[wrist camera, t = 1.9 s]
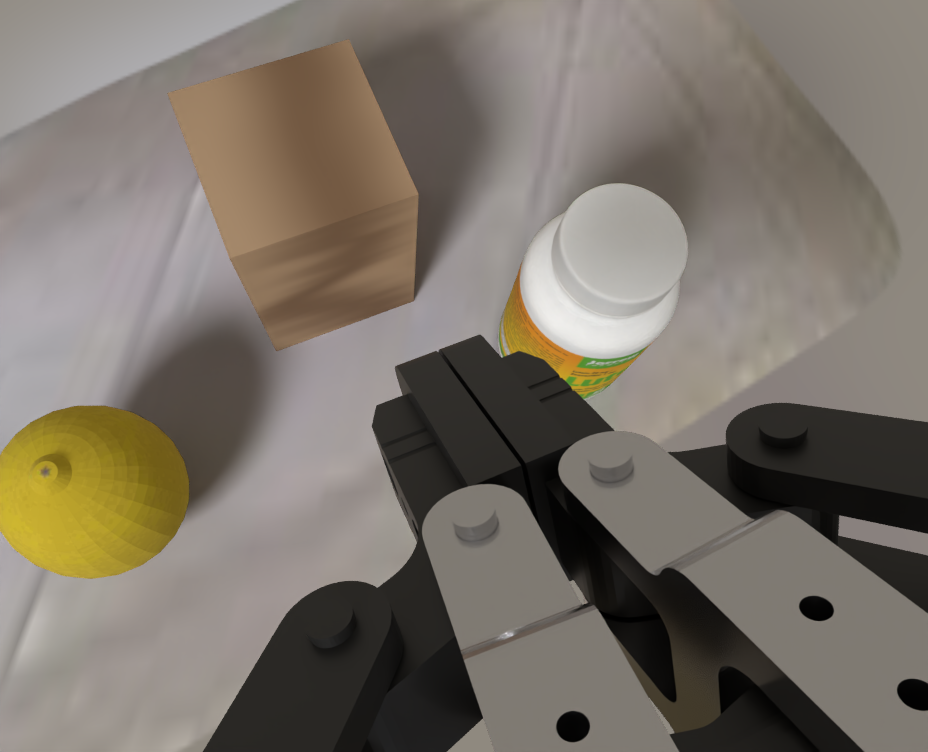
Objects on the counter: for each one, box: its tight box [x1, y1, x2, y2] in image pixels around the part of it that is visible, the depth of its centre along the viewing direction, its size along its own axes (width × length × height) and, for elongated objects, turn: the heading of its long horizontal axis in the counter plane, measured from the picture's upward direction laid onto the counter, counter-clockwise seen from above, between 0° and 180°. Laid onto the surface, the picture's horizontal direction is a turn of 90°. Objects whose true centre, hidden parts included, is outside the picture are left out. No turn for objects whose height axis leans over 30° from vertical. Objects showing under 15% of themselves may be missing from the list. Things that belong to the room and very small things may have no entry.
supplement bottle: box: [498, 183, 688, 400], centre depth 28 cm, size 5×5×10 cm
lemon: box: [0, 406, 189, 579], centre depth 25 cm, size 6×6×8 cm
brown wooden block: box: [167, 39, 419, 351], centre depth 28 cm, size 6×6×9 cm
